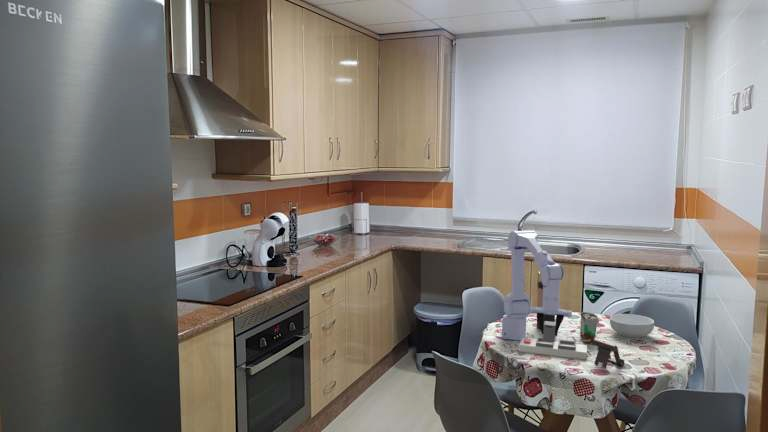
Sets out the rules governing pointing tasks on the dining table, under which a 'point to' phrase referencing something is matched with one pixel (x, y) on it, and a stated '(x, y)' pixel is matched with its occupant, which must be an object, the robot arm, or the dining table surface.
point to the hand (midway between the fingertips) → (549, 334)
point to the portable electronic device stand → (607, 353)
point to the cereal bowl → (631, 325)
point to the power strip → (554, 348)
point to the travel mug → (539, 304)
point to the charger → (549, 331)
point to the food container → (588, 327)
